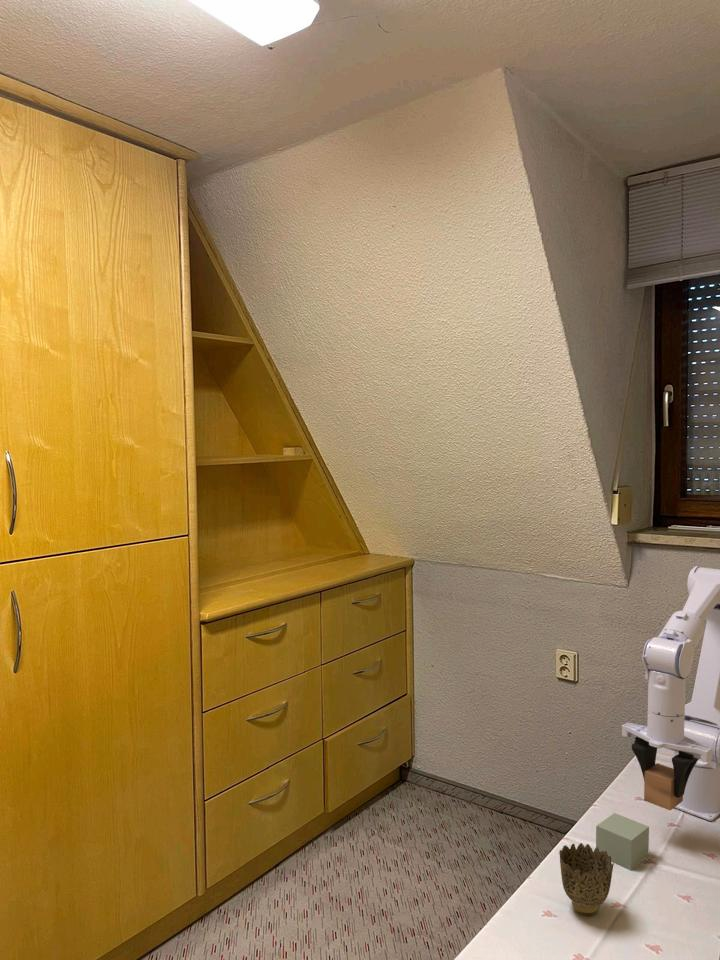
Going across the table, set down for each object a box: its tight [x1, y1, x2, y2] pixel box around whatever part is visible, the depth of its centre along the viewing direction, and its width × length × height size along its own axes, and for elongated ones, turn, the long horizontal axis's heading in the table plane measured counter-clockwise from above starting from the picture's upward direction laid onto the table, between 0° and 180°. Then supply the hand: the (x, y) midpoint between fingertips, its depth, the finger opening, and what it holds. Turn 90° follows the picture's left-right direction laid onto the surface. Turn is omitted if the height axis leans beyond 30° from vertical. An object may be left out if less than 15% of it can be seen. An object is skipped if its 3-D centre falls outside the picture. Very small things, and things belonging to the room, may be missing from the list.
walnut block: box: [643, 763, 683, 811], centre depth 124 cm, size 4×4×5 cm
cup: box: [558, 842, 615, 917], centre depth 106 cm, size 8×7×8 cm
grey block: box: [595, 812, 650, 871], centre depth 120 cm, size 6×6×5 cm
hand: (664, 789), depth 124 cm, fingers closed on walnut block, 4 cm apart
